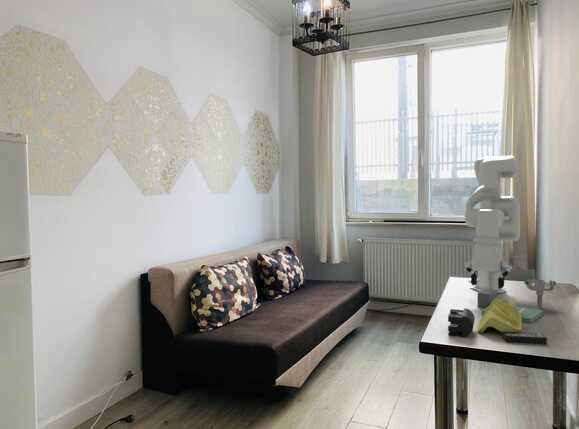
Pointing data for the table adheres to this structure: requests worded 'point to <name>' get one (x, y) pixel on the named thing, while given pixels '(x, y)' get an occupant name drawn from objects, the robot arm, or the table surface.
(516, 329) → the plastic component
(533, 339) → the multiport hub
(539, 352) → the table surface
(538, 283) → the mechanical component
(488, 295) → the block
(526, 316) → the board
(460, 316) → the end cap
